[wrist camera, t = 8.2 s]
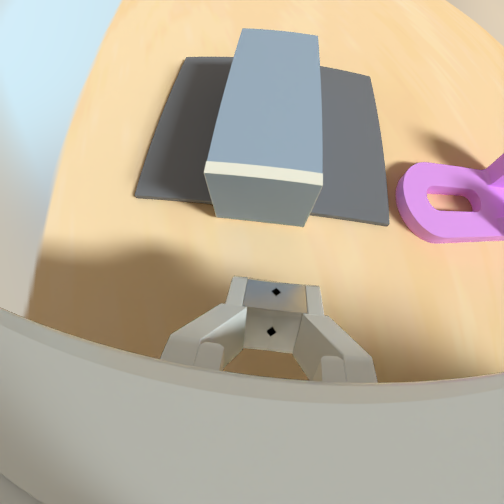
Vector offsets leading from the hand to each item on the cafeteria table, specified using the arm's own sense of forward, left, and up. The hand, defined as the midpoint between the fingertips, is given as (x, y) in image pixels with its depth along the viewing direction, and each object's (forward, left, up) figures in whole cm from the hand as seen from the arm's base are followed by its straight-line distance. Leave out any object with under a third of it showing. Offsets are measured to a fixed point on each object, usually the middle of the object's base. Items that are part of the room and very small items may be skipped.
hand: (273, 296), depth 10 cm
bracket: (+17, -2, -6) cm, 18 cm away
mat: (+7, +11, -6) cm, 14 cm away
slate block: (+2, +4, -3) cm, 6 cm away
